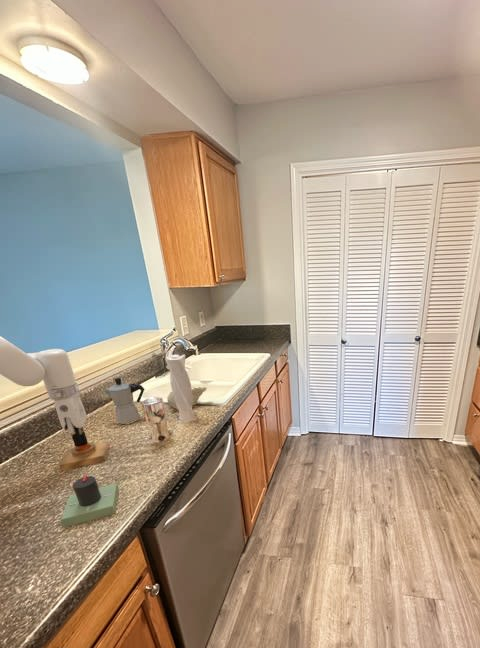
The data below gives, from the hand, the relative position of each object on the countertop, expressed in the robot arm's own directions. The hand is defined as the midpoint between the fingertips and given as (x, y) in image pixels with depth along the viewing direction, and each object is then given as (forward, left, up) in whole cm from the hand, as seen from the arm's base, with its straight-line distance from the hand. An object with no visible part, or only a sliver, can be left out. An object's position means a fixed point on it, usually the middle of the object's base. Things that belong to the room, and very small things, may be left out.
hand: (81, 444), depth 103 cm
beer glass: (+23, +2, -5) cm, 24 cm away
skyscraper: (+33, +15, -5) cm, 37 cm away
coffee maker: (+12, +26, -5) cm, 29 cm away
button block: (0, 0, -5) cm, 5 cm away
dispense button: (0, 0, -2) cm, 2 cm away
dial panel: (+6, -29, -5) cm, 30 cm away
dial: (+6, -29, -3) cm, 30 cm away
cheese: (+35, +30, -6) cm, 47 cm away
